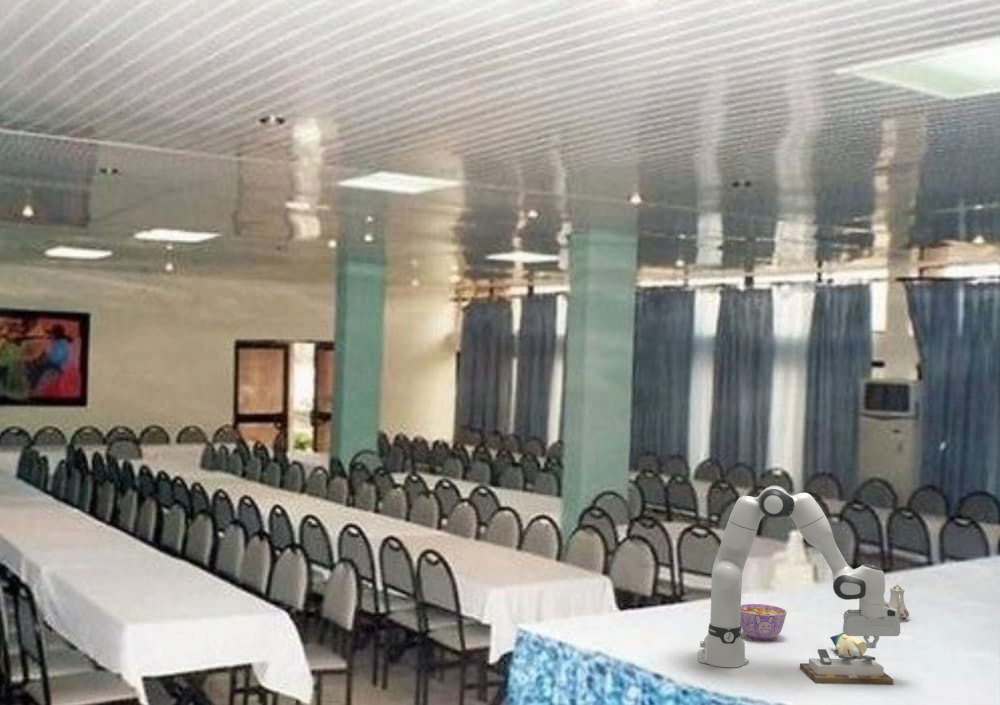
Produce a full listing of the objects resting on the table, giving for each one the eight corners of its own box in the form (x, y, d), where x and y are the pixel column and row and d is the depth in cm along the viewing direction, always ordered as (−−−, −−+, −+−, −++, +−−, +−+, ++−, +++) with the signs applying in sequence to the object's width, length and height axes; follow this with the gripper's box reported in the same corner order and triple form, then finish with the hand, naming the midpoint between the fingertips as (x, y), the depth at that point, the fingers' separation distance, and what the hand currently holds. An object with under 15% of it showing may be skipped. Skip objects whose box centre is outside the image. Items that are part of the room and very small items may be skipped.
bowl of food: (766, 646, 445) (767, 617, 444) (725, 635, 460) (726, 607, 460) (795, 639, 458) (796, 611, 458) (755, 628, 473) (756, 601, 473)
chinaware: (866, 614, 515) (863, 578, 515) (904, 613, 512) (901, 576, 512) (875, 628, 487) (872, 590, 487) (915, 627, 484) (912, 589, 484)
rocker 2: (838, 657, 410) (838, 654, 410) (846, 657, 410) (846, 654, 410) (845, 659, 403) (845, 656, 403) (853, 659, 403) (853, 656, 403)
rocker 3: (860, 658, 410) (859, 654, 410) (868, 658, 410) (867, 655, 411) (867, 660, 403) (867, 656, 403) (875, 660, 403) (875, 657, 404)
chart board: (799, 668, 415) (799, 662, 415) (873, 669, 416) (873, 664, 416) (815, 683, 397) (816, 677, 397) (893, 684, 398) (893, 678, 398)
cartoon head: (860, 669, 426) (824, 653, 445) (877, 654, 430) (841, 639, 448) (852, 651, 424) (816, 635, 442) (869, 636, 427) (833, 622, 446)
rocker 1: (817, 651, 409) (817, 648, 409) (825, 651, 410) (826, 649, 409) (823, 664, 403) (823, 662, 403) (831, 664, 403) (831, 662, 403)
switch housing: (808, 666, 411) (809, 655, 411) (872, 667, 412) (873, 656, 412) (817, 674, 401) (818, 663, 401) (883, 675, 402) (883, 664, 402)
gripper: (846, 611, 401) (846, 650, 401) (902, 612, 402) (901, 650, 402) (840, 607, 407) (839, 645, 407) (895, 607, 408) (894, 645, 409)
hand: (871, 647), depth 405 cm, fingers closed
